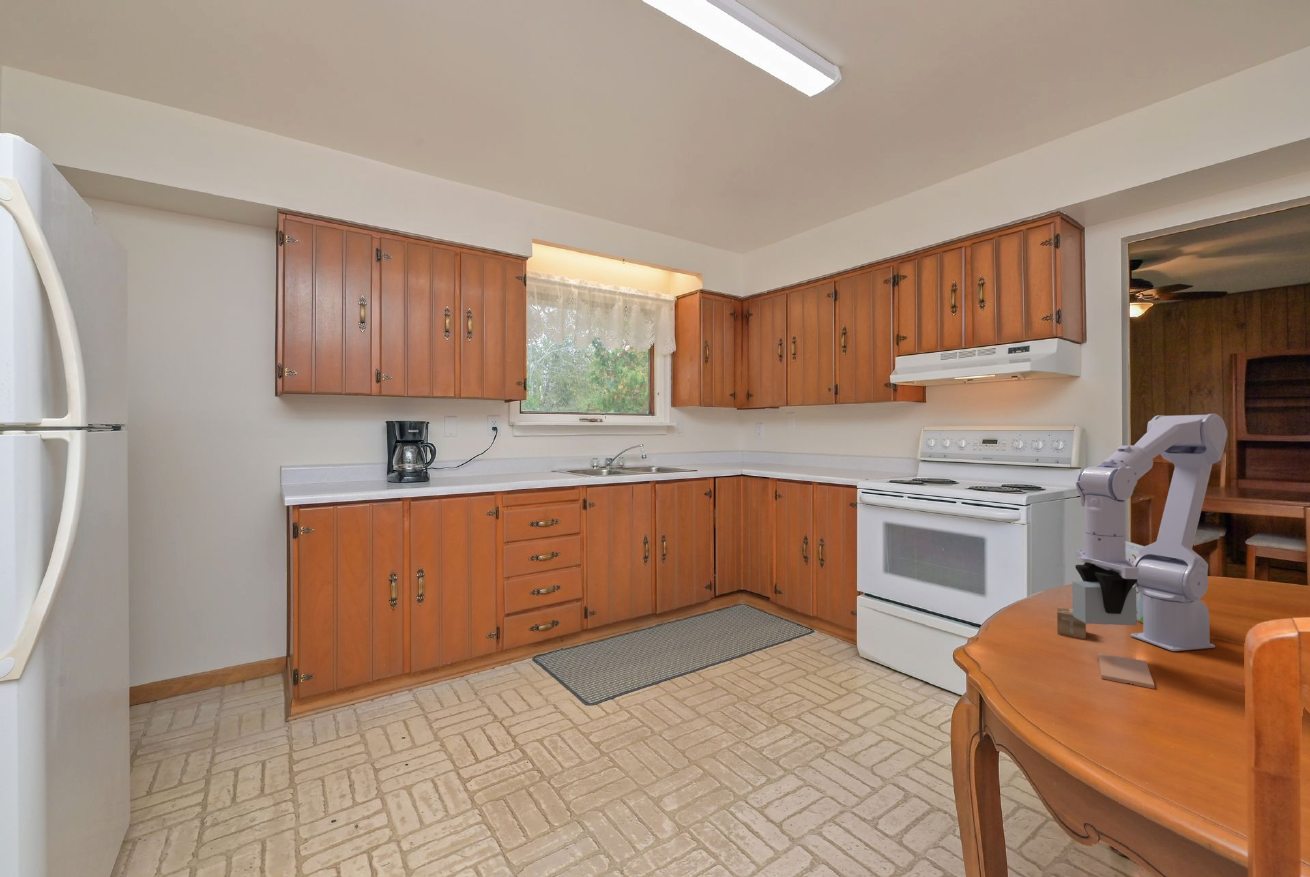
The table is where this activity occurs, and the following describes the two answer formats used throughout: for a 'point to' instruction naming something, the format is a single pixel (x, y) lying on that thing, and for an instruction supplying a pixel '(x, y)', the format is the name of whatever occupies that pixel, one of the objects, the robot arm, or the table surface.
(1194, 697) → the table surface
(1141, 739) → the table surface
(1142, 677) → the terracotta tile
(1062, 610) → the letter block
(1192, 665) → the table surface
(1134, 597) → the gray block
